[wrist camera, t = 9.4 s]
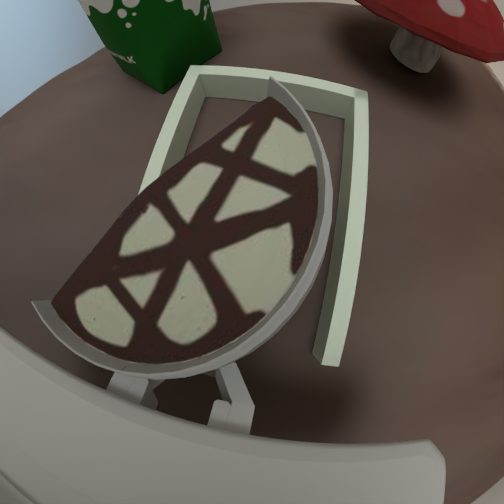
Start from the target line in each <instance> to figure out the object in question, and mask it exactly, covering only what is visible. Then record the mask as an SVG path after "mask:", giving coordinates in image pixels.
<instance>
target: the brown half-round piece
mask: <svg viewBox="0 0 504 504" xmlns="http://www.w3.org/2000/svg"><path fill="white" fill-rule="evenodd" d="M332 199H333V189H332V182H331V175H330V168H329V163H328V160H327V157H326V154H325V151H324V148H323V145H322V142H321V139H320V137H319V135H318V134H317V131H316V128H315V126H314V125H313V123H312V121H311V120H310V118H309V116H308V115H307V113H306V111H305V110H304V108H303V106H302V105H301V104H300V103H299V102H298V101H297V99H296V98H295V97H294V96H293V95H292V94H291V93H290V91H289V90H288V89H287V88H285V87H284V86H283V85H282V84H281V83H279V82H278V81H277V80H276V79H274V78H273V77H272V76H270V77H269V82H268V90H267V97H266V98H265V99H264V100H262V101H261V102H259V103H257V104H255V105H253V106H252V107H251V108H250V109H249V110H248V111H247V112H246V113H245V114H243V115H242V116H241V117H239V118H238V119H237V120H236V121H234V122H233V123H232V124H230V125H229V126H227V127H226V128H225V129H223V130H222V131H221V132H219V133H218V134H217V135H215V136H214V137H213V138H211V139H210V140H209V141H207V142H206V143H204V144H203V145H202V146H200V147H199V148H198V149H196V150H195V151H193V152H192V153H190V154H189V155H188V156H186V157H185V158H183V159H182V160H181V161H179V162H178V163H176V164H175V165H174V166H172V167H171V168H170V169H168V170H167V171H166V172H164V173H163V174H162V175H161V176H159V177H158V178H157V179H156V180H154V181H153V182H152V183H151V184H150V185H148V186H147V187H146V188H145V189H144V190H143V191H142V192H141V193H140V194H139V195H138V196H137V197H136V198H135V199H134V200H133V201H132V202H131V204H130V205H129V206H128V207H127V208H126V209H125V210H124V211H123V213H122V214H121V215H120V216H119V218H118V219H117V220H116V221H115V223H114V224H113V225H112V227H111V228H110V229H109V230H108V232H107V233H106V234H105V235H104V237H103V238H102V239H101V240H100V242H99V243H98V244H97V245H96V247H95V248H94V249H93V250H92V252H91V253H90V254H89V255H88V256H87V257H86V259H85V260H84V261H83V262H82V263H81V264H80V266H79V267H78V268H77V269H76V271H75V272H74V273H73V274H72V275H71V277H70V278H69V279H68V280H67V282H66V283H65V284H64V285H63V287H62V288H61V289H60V291H59V292H58V293H57V294H56V296H55V297H54V298H53V299H49V300H38V301H32V302H31V303H32V305H33V306H34V308H35V310H36V312H37V313H38V315H39V317H40V318H41V320H42V321H43V323H44V324H45V325H46V326H47V327H48V329H49V330H50V331H51V332H52V333H53V335H54V336H55V337H56V338H57V339H58V340H59V341H60V342H62V343H63V344H64V345H65V346H66V347H67V348H69V349H70V350H71V351H72V352H74V353H75V354H77V355H78V356H80V357H82V358H83V359H85V360H87V361H89V362H91V363H92V364H94V365H96V366H99V367H102V368H105V369H108V370H111V371H114V372H117V373H120V374H124V375H127V376H130V377H138V378H146V379H156V380H159V379H173V378H185V377H189V376H193V375H197V374H200V373H204V372H207V371H211V370H214V369H217V368H220V367H223V366H226V365H228V364H230V363H232V362H234V361H236V360H238V359H240V358H242V357H244V356H246V355H248V354H250V353H252V352H253V351H255V350H256V349H257V348H259V347H260V346H261V345H263V344H264V343H265V342H267V341H268V340H269V339H270V338H272V337H273V336H274V335H276V334H277V333H278V332H279V330H280V329H281V328H282V327H283V326H284V325H285V324H286V323H287V322H288V321H289V320H290V318H291V317H292V316H293V315H294V314H295V313H296V312H297V310H298V309H299V307H300V306H301V304H302V302H303V301H304V299H305V298H306V296H307V295H308V293H309V291H310V290H311V288H312V286H313V284H314V282H315V279H316V277H317V275H318V272H319V270H320V267H321V265H322V262H323V260H324V256H325V251H326V247H327V242H328V238H329V233H330V227H331V221H332Z"/></svg>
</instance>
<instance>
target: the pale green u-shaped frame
mask: <svg viewBox="0 0 504 504" xmlns="http://www.w3.org/2000/svg"><path fill="white" fill-rule="evenodd" d="M270 76H272V77H273V78H274V79H276V80H277V81H278V82H279V83H281V84H282V85H283V86H284V87H285V88H287V89H288V90H289V91H290V93H291V94H292V95H293V96H294V97H295V98H296V99H297V101H298V102H299V103H300V104H301V105H302V106H303V108H304V110H308V111H313V112H318V113H322V114H327V115H331V116H335V117H339V118H343V119H345V123H344V141H343V156H342V169H341V180H340V190H339V199H338V208H337V216H336V224H335V232H334V239H333V246H332V252H331V259H330V265H329V271H328V277H327V283H326V288H325V294H324V299H323V304H322V309H321V314H320V319H319V324H318V328H317V333H316V338H315V342H314V346H313V351H312V354H313V355H314V357H315V358H316V359H317V360H318V361H319V363H320V364H321V365H327V366H336V367H339V364H340V360H341V356H342V352H343V347H344V343H345V339H346V334H347V330H348V325H349V320H350V315H351V310H352V305H353V299H354V294H355V288H356V282H357V275H358V269H359V262H360V255H361V247H362V238H363V229H364V219H365V208H366V195H367V178H368V146H369V123H368V92H366V91H363V90H359V89H356V88H353V87H349V86H345V85H341V84H338V83H334V82H329V81H325V80H321V79H316V78H311V77H306V76H301V75H296V74H290V73H284V72H277V71H270V70H262V69H253V68H243V67H229V66H207V65H190V67H189V69H188V71H187V73H186V75H185V77H184V79H183V82H182V84H181V86H180V88H179V90H178V92H177V94H176V96H175V99H174V101H173V103H172V105H171V108H170V110H169V112H168V115H167V117H166V119H165V122H164V124H163V127H162V129H161V132H160V134H159V137H158V139H157V142H156V145H155V147H154V150H153V153H152V155H151V158H150V161H149V164H148V167H147V170H146V173H145V176H144V179H143V182H142V185H141V188H140V191H139V194H140V193H141V192H142V191H143V190H144V189H145V188H146V187H147V186H148V185H150V184H151V183H152V182H153V181H154V180H156V179H157V178H158V177H159V176H161V175H162V174H163V173H164V172H166V171H167V170H168V169H170V168H171V167H172V166H174V165H175V164H176V163H178V162H179V161H181V160H182V159H183V158H184V155H185V152H186V149H187V146H188V143H189V140H190V137H191V134H192V132H193V129H194V126H195V123H196V120H197V118H198V115H199V112H200V110H201V107H202V104H203V102H204V99H205V97H215V98H228V99H238V100H247V101H255V102H261V101H262V100H264V99H265V98H266V97H267V90H268V82H269V77H270Z"/></svg>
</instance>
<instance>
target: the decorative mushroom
mask: <svg viewBox="0 0 504 504" xmlns="http://www.w3.org/2000/svg"><path fill="white" fill-rule="evenodd" d="M355 1H357V2H358V3H360V4H361V5H362V6H364V7H365V8H367V9H368V10H369V11H371V12H372V13H373V14H375V15H376V16H378V17H380V18H382V19H384V20H386V21H388V22H390V23H393V24H395V25H396V26H398V27H400V28H399V29H398V30H397V32H396V34H395V36H394V38H393V39H392V41H391V43H390V50H391V52H392V54H393V55H394V56H395V57H396V59H397V60H398V61H399V62H401V63H402V64H403V65H405V66H406V67H408V68H410V69H412V70H413V71H417V72H420V73H428V72H429V71H430V70H431V69H432V68H433V66H434V65H435V63H436V62H437V60H438V59H439V57H440V55H441V51H442V47H444V48H446V49H448V50H450V51H452V52H455V53H458V54H461V55H465V56H468V57H471V58H474V59H476V60H479V61H482V62H485V63H490V62H496V61H504V20H503V17H502V15H501V13H500V11H499V9H498V8H497V6H496V4H495V3H494V1H493V0H355Z"/></svg>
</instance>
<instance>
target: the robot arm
mask: <svg viewBox="0 0 504 504" xmlns="http://www.w3.org/2000/svg"><path fill="white" fill-rule="evenodd" d="M200 374H204V375H208V376H211V377H215V378H216V381H217V384H218V387H219V390H220V393H221V396H222V399H223V401H222V400H216V401H214V404H213V407H212V411H211V414H210V418H209V421H208V424H207V425H203V424H199V423H196V422H192V421H188V420H185V419H182V418H178V417H175V416H172V415H169V414H166V413H163V412H160V411H157V410H156V407H157V404H158V400H157V398H156V396H155V394H154V392H153V389H154V388H156V387H157V386H158V385H159V384H161V383H162V382H163V381H164V380H166V379H159V380H156V379H146V378H138V377H130V376H127V375H124V374H120V373H117V372H114V374H113V376H112V378H111V380H110V382H109V385H108V387H107V389H106V390H104V389H102V388H100V387H98V386H96V385H94V384H92V383H90V382H88V381H86V380H84V379H82V378H80V377H78V376H76V375H74V374H72V373H70V372H69V371H67V370H65V369H63V368H61V367H60V366H58V365H56V364H55V363H53V362H51V361H50V360H48V359H46V358H45V357H43V356H41V355H40V354H38V353H37V352H35V351H34V350H32V349H31V348H29V347H28V346H26V345H25V344H23V343H22V342H20V341H19V340H17V339H16V338H15V337H13V336H12V335H11V334H9V333H8V332H7V331H5V330H4V329H3V328H1V327H0V504H443V502H444V493H445V480H446V466H445V459H444V457H443V455H442V454H441V452H440V451H439V450H438V448H437V447H436V446H435V445H434V443H433V442H432V441H431V440H429V439H427V438H423V439H415V440H406V441H396V442H382V443H317V442H303V441H292V440H283V439H275V438H268V437H261V436H255V435H249V434H250V429H251V424H252V419H253V414H254V409H255V406H254V404H253V401H252V399H251V397H250V394H249V392H248V390H247V387H246V385H245V383H244V380H243V378H242V376H241V373H240V371H239V368H238V366H237V364H236V363H235V361H234V362H232V363H230V364H228V365H226V366H223V367H220V368H217V369H214V370H211V371H207V372H204V373H200Z"/></svg>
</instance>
